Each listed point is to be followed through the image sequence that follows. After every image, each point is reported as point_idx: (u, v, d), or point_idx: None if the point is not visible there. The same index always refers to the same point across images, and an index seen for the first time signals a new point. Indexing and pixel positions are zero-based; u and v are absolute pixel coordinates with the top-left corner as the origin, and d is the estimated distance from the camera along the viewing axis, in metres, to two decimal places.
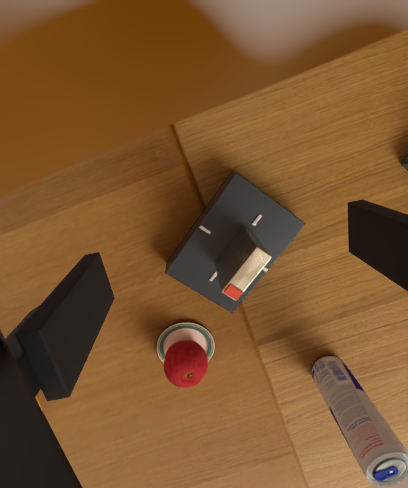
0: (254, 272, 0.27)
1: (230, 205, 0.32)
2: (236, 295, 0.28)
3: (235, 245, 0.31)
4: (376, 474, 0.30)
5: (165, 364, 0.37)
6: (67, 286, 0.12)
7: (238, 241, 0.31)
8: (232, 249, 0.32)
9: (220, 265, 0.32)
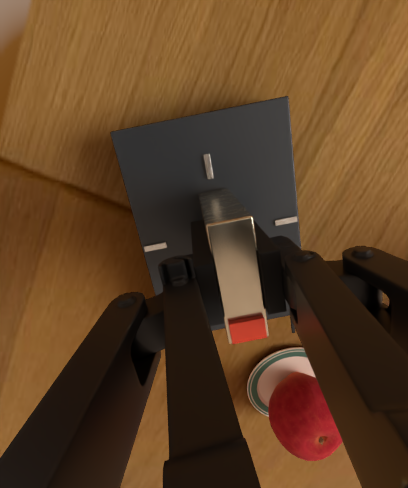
0: (249, 269, 0.12)
1: (153, 184, 0.17)
2: (258, 331, 0.12)
3: None
4: None
5: (279, 440, 0.23)
6: (202, 240, 0.14)
7: None
8: None
9: None
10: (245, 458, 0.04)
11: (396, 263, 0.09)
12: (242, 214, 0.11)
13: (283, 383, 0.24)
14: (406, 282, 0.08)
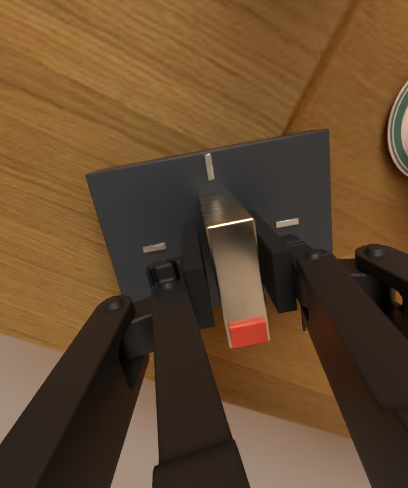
0: (250, 272, 0.11)
1: None
2: (259, 335, 0.12)
3: None
4: None
5: None
6: (193, 242, 0.14)
7: None
8: None
9: None
10: (235, 459, 0.04)
11: None
12: (243, 216, 0.11)
13: None
14: None
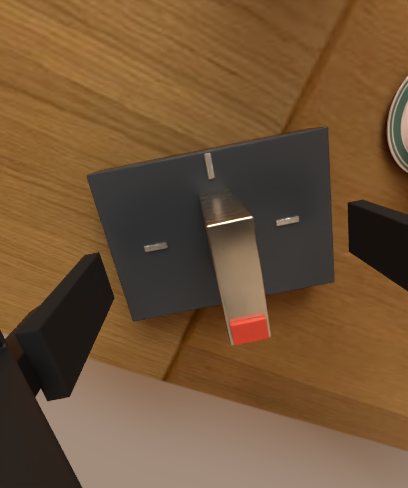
0: (250, 269, 0.11)
1: (173, 292, 0.19)
2: (260, 332, 0.12)
3: None
4: None
5: None
6: (67, 286, 0.12)
7: None
8: None
9: None
10: None
11: None
12: (243, 214, 0.11)
13: None
14: None
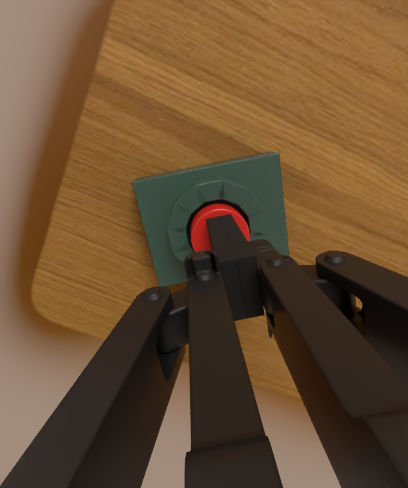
0: None
1: None
2: None
3: None
4: None
5: None
6: (221, 236, 0.14)
7: None
8: None
9: None
10: (267, 456, 0.04)
11: (367, 267, 0.09)
12: None
13: None
14: (378, 286, 0.08)
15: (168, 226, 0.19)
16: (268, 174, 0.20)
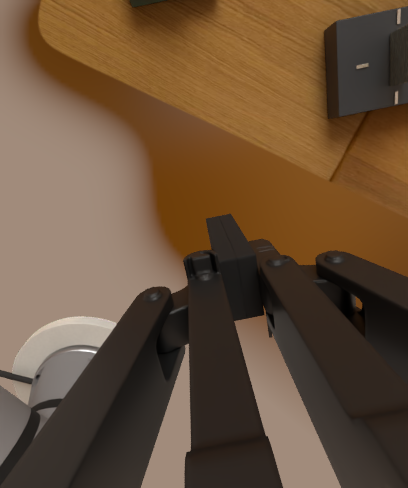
0: None
1: (364, 97, 0.35)
2: None
3: (402, 47, 0.32)
4: None
5: None
6: (221, 235, 0.14)
7: (402, 41, 0.32)
8: (402, 52, 0.32)
9: (402, 75, 0.33)
10: (267, 456, 0.04)
11: (367, 267, 0.09)
12: None
13: None
14: (378, 286, 0.08)
15: None
16: None
